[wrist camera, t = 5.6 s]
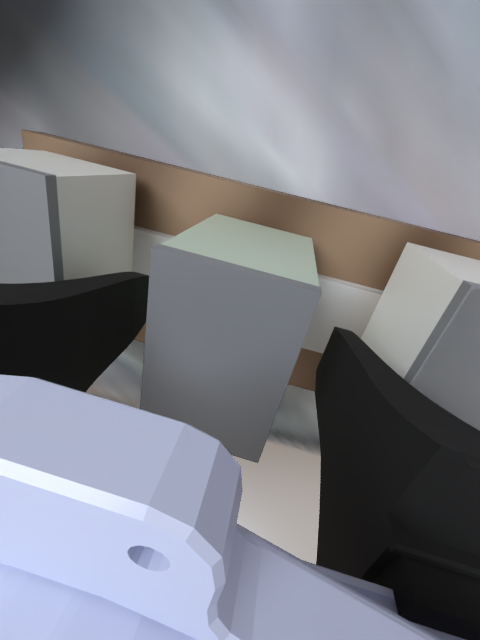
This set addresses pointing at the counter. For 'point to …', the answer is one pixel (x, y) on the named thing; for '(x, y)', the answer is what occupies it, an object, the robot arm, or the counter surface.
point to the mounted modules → (117, 256)
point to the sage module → (227, 327)
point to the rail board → (275, 212)
